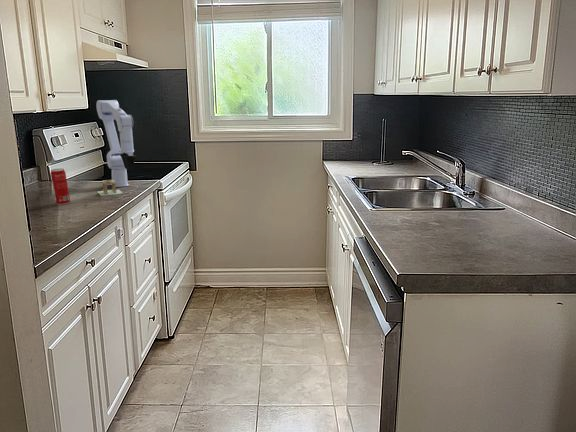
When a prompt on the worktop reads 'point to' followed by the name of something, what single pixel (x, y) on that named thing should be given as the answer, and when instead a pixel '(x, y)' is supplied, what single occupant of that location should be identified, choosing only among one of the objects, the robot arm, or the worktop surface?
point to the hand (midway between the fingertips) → (129, 169)
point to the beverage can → (60, 186)
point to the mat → (109, 193)
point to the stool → (109, 183)
